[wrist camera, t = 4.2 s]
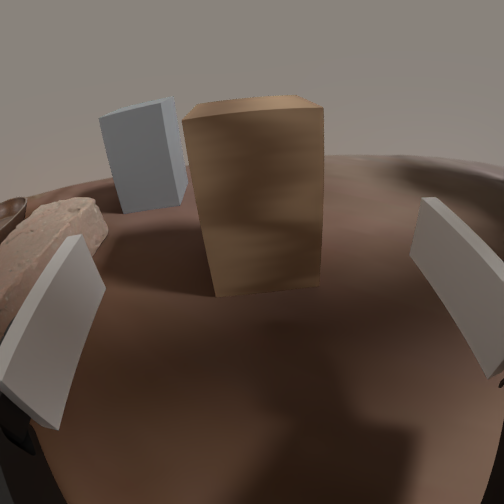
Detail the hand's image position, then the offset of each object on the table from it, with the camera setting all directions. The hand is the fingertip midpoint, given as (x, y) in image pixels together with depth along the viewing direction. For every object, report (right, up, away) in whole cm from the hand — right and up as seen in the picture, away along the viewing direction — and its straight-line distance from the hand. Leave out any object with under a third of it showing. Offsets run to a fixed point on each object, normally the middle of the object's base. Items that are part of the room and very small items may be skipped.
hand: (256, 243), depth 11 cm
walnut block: (+1, -1, +9) cm, 9 cm away
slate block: (-10, +6, +20) cm, 23 cm away
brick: (-17, -4, +9) cm, 20 cm away
